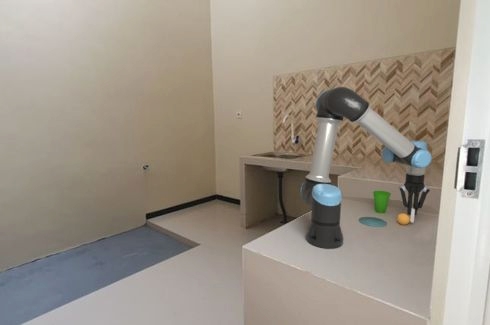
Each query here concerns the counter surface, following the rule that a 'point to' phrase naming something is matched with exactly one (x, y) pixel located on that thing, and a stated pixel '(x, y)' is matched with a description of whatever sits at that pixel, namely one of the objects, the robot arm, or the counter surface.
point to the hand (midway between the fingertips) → (411, 221)
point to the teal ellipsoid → (372, 221)
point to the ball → (403, 218)
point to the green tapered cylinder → (381, 201)
